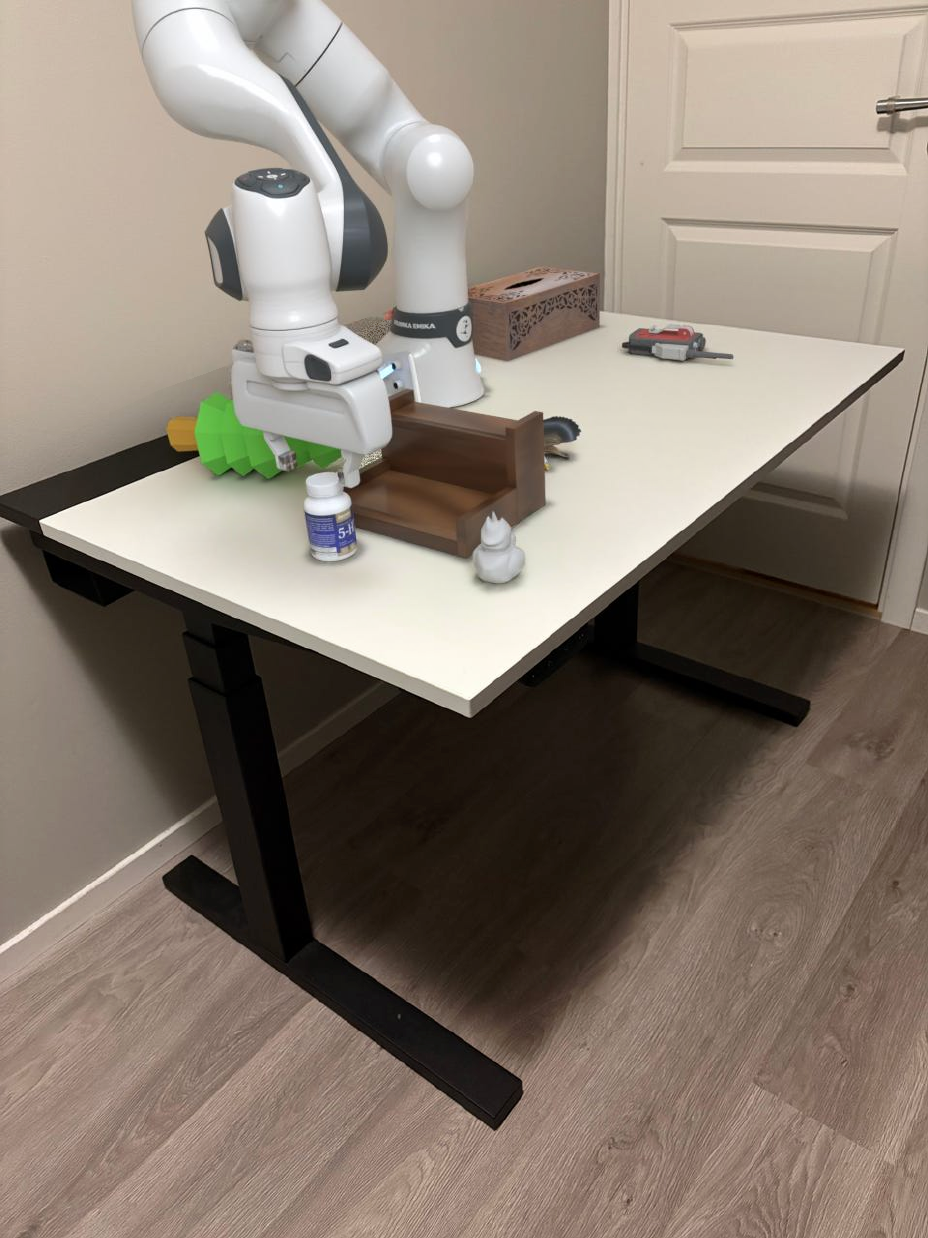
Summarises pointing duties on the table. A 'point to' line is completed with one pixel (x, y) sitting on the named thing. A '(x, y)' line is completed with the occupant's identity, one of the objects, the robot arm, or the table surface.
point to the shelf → (450, 475)
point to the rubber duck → (497, 552)
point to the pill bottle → (329, 518)
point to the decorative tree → (237, 441)
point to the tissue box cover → (533, 310)
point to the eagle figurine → (558, 434)
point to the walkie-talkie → (670, 343)
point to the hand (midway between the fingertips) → (318, 476)
